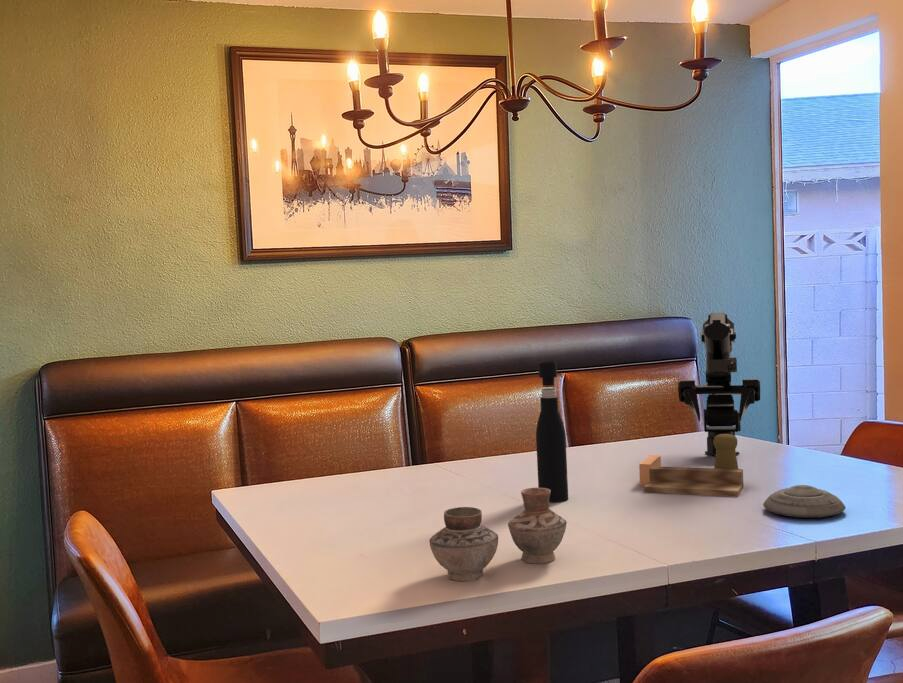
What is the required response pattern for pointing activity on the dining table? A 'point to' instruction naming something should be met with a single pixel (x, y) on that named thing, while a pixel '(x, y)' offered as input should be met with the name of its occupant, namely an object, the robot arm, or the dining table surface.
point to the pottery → (475, 545)
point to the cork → (725, 451)
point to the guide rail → (689, 479)
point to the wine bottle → (551, 439)
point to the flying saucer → (804, 502)
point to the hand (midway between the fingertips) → (719, 419)
